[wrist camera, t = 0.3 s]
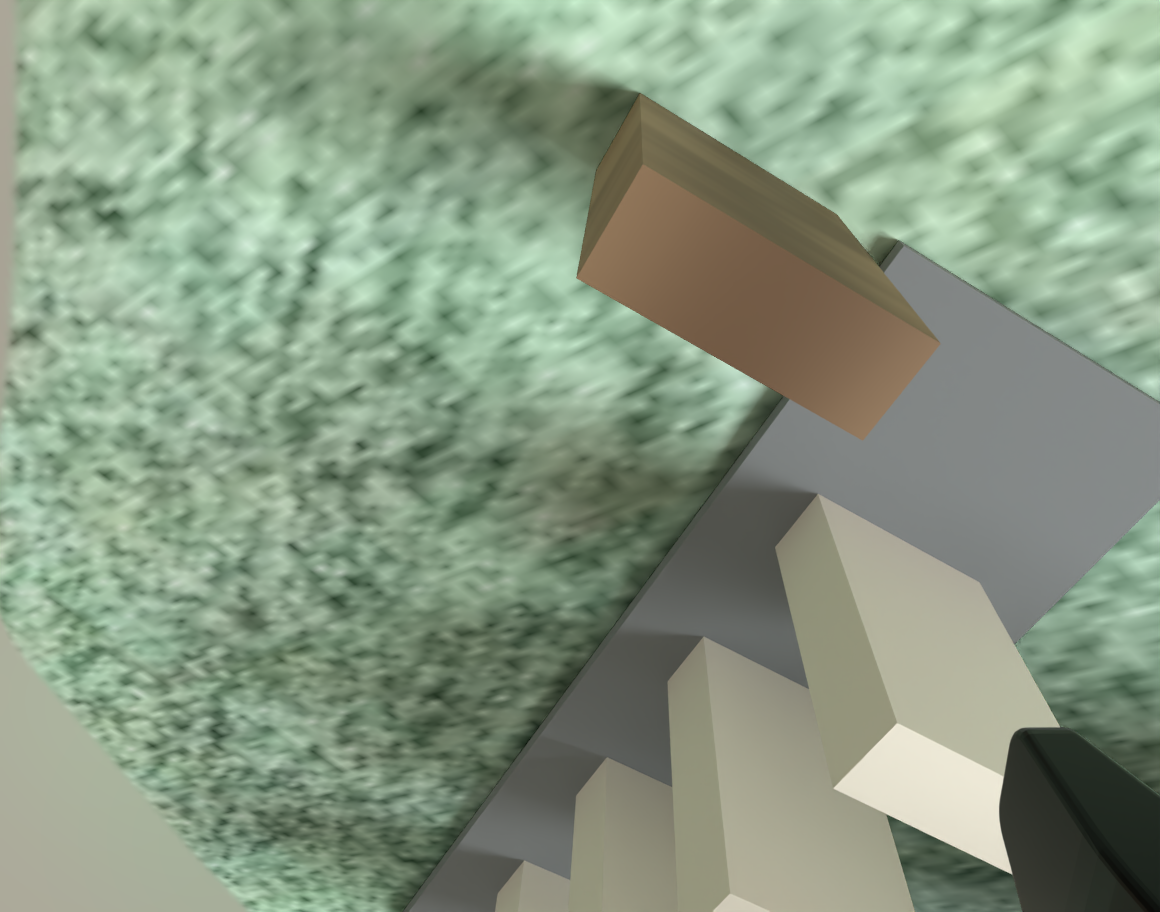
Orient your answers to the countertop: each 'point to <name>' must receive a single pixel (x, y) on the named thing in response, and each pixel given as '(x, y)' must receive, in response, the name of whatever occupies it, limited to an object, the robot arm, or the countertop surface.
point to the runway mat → (873, 492)
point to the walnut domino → (748, 271)
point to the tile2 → (907, 677)
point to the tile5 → (534, 891)
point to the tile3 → (766, 800)
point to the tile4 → (623, 844)
